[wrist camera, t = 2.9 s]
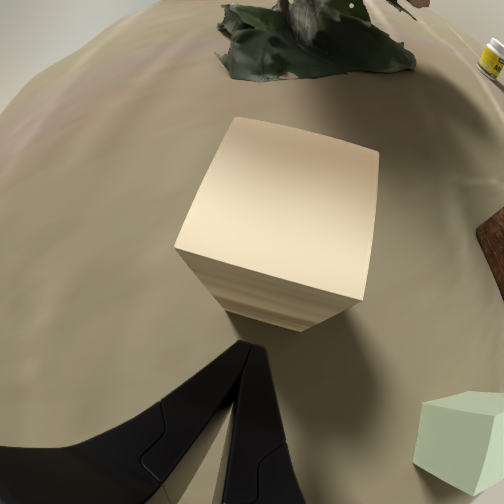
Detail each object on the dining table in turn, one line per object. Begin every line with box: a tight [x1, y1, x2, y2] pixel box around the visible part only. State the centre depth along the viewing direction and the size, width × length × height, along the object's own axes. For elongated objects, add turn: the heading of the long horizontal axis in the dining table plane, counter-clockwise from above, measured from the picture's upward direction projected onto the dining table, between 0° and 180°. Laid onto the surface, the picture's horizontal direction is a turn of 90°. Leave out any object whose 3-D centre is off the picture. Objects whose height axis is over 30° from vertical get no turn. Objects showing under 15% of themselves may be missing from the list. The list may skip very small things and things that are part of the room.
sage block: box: [412, 391, 504, 496], centre depth 9 cm, size 4×4×7 cm
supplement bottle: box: [477, 38, 504, 80], centre depth 24 cm, size 5×5×8 cm
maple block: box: [174, 117, 379, 332], centre depth 12 cm, size 4×4×10 cm
